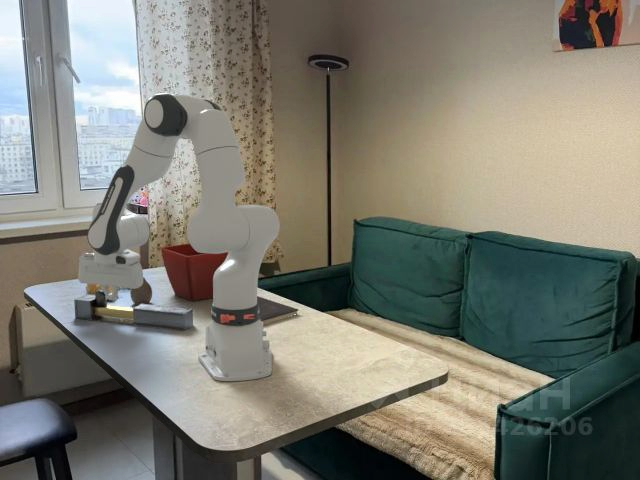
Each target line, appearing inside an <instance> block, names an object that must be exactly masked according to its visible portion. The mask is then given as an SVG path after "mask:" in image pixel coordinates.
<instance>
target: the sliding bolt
mask: <svg viewBox="0 0 640 480" xmlns="http://www.w3.org/2000/svg"><path fill="white" fill-rule="evenodd" d="M107 301H108V300H106V299H105V294H104V292H103V290H96V291H95V302H96V304H93V315H98V316H107V317H116V318H125V319H133V308H134V307H128V306H127V307H126V306H116V305H108V304H107V303H108V302H107Z"/></svg>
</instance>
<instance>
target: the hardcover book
mask: <svg viewBox="0 0 640 480" xmlns="http://www.w3.org/2000/svg"><path fill="white" fill-rule="evenodd" d="M257 302H258V304H259V320H260V321H262V322H263V324H264V325H266V324H267V325H268V324H271V323H274V322H277V321H276V320H278V321H280V320H279V319H281V320H283V319H282V318H284V319H286V318H285V317H288V316H291V315H294V314H297V315H298V311H300V310H299V309H298V308H295V307H293V306H289V305H286V304H283V303H281V302H278V301H277V302H276V301H273V300H271V299H267V298H265V297H261V296H258V295H257ZM294 316H295V315H294ZM291 317H292V316H291ZM288 318H289V317H288ZM273 321H274V322H273ZM270 322H271V323H270Z"/></svg>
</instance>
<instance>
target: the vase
mask: <svg viewBox="0 0 640 480" xmlns="http://www.w3.org/2000/svg"><path fill="white" fill-rule="evenodd" d="M130 298H131V301H132V303H133V304H134V305H136V306H138V305H140V304H149V303H150V302H151V300H152V299H153V289H152V286H151V285H150V283H149V282H148V281H147V279H146V277H144V276H143V284H142V286H141V287H139V288H136V289H133V288H130Z"/></svg>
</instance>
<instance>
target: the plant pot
mask: <svg viewBox="0 0 640 480" xmlns="http://www.w3.org/2000/svg"><path fill="white" fill-rule="evenodd" d="M160 250H161V251H160V252H161V257H162V261H163V265H164V269H165V272H166V275H167V278H168V281H169V284H170V286H171V288H172V291H173V293H174V294H175V295H177V296H179V297H182V298H183V299H187V300H189V301H191V302H196V301H201V300H206V299H211V298H213V276H214V273H215V271H216V270H217V269H218V268H219V267H220V266H221V265H222V264H223V263H224V261H225V259H226V258H227V255H228V253H229V252H225V253H220V254H208V253H199V252H197V251H196V250H195V249H194V248H193V247H192V246H191V245H190V243H183V244H175V245H169V246H162V247H160Z"/></svg>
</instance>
